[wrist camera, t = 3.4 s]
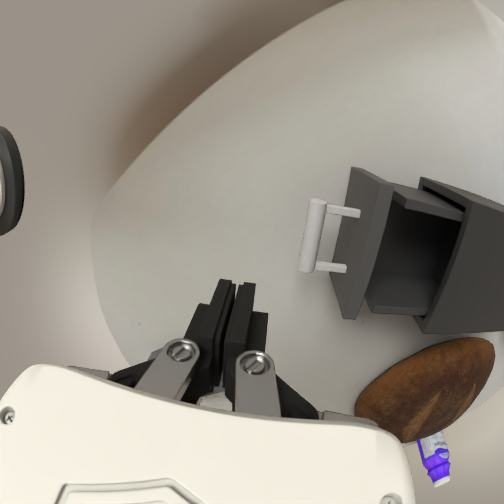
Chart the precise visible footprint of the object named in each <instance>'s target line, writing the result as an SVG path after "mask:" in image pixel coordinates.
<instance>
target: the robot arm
mask: <svg viewBox="0 0 504 504" xmlns="http://www.w3.org/2000/svg"><path fill="white" fill-rule="evenodd" d="M4 204H5V179H4V173H3V168H2V164H1V161H0V216H1V214H2V212H3V208H4ZM255 286H256V284H254V283H247V282H244V285H239V287H238V291H237V294H236V298H235V290H236V284H232V280H225V279H220V280H219V282H218V285H217V287H216V290H215V292H214V295H213V297H212V300H211V303H210V305H208V304H202V303H199V305H198V306H197V309H196V311H195V313H194V315H193V318H192V320H191V322H190V325H189V327H188V329H187V331H186V334H185V336H184V338H183V339H175V340H172V341H170V342H168V343H167V344H166V345H165V346H164V348H163V349H162V350H161V352H160V353H159V354H158V356H157V357H156V358H154V359H151V360H149V361H146V362H143V363H140V364H137V365H135V366H132V367H129V368H126V369H123V370H120V371H118V372H115V373H114V374H110V373H109V371H101V370H95V369H88V368H82V367H76V366H63V365H57V364H36V365H33V366H31V367H29V368H28V369H26V370H25V371H24V372H23V373H22V374H21V375H20V376H19V377H18V378H17V379H16V380H15V381H14V383H13V384H12V385H11V386H10V388H9V389H8V391H7V392H6V393H5V395H4V396H3V398H2V399H1V400H0V504H416V501H415V492H414V485H413V480H412V474H411V470H410V466H409V462H408V458H407V455H406V453H405V450H404V448H403V446H402V444H401V442H400V441H399V440H398V438H397V437H396V436H394V435H393V434H392V433H390V432H388V431H386V430H383V429H381V428H379V426H378V425H377V423H376V422H374V421H373V420H371V419H368V418H362V417H356V416H351V415H345V414H340V413H335V412H330V411H326V410H325V411H324V412H319V411H317V410H316V409H315V408H314V407H313V406H312V405H311V404H310V403H309V402H308V401H306V400H305V399H304V398H303V397H302V396H300V395H299V394H298V393H297V392H296V391H294V390H293V389H292V388H291V387H290V386H289V385H287V384H286V383H285V382H284V381H283V380H282V379H281V378H279V377H278V376H277V375H276V374H275V367H274V362H273V360H272V358H271V357H270V356H269V355H267V354H266V353H265V345H266V334H267V323H268V313H263V312H255V311H253V303H254V295H255ZM222 372H223V384H222V388H225V396H226V397H227V398H228V399H229V401H230V402H231V403H232V411H227V410H221V409H215V408H210V407H205V406H200V403H201V401H202V396H204V395H206V394H208V393H213V390H214V386H215V387H219V385H220V381H221V377H222Z"/></svg>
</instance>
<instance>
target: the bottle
mask: <svg viewBox="0 0 504 504" xmlns="http://www.w3.org/2000/svg"><path fill="white" fill-rule="evenodd" d="M417 444H418V447H419V451H420V455H421V459H422V463H423V465H424V466H425V468H426V469H427V470H428V475H429V476H430V477H431V479H432V481H433V485H434V487H437V486H440V485H442V484H444V483H446V482H448V481H450V475H449V467H450V463H449V462H448V459H449V451H448V448H447V444H446V441H445V438H444V435H443V432H442V430H441V431H440V432H438V433H436V434H434V435H431V436H429V437H426V438H423V439H420V440H417Z"/></svg>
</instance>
